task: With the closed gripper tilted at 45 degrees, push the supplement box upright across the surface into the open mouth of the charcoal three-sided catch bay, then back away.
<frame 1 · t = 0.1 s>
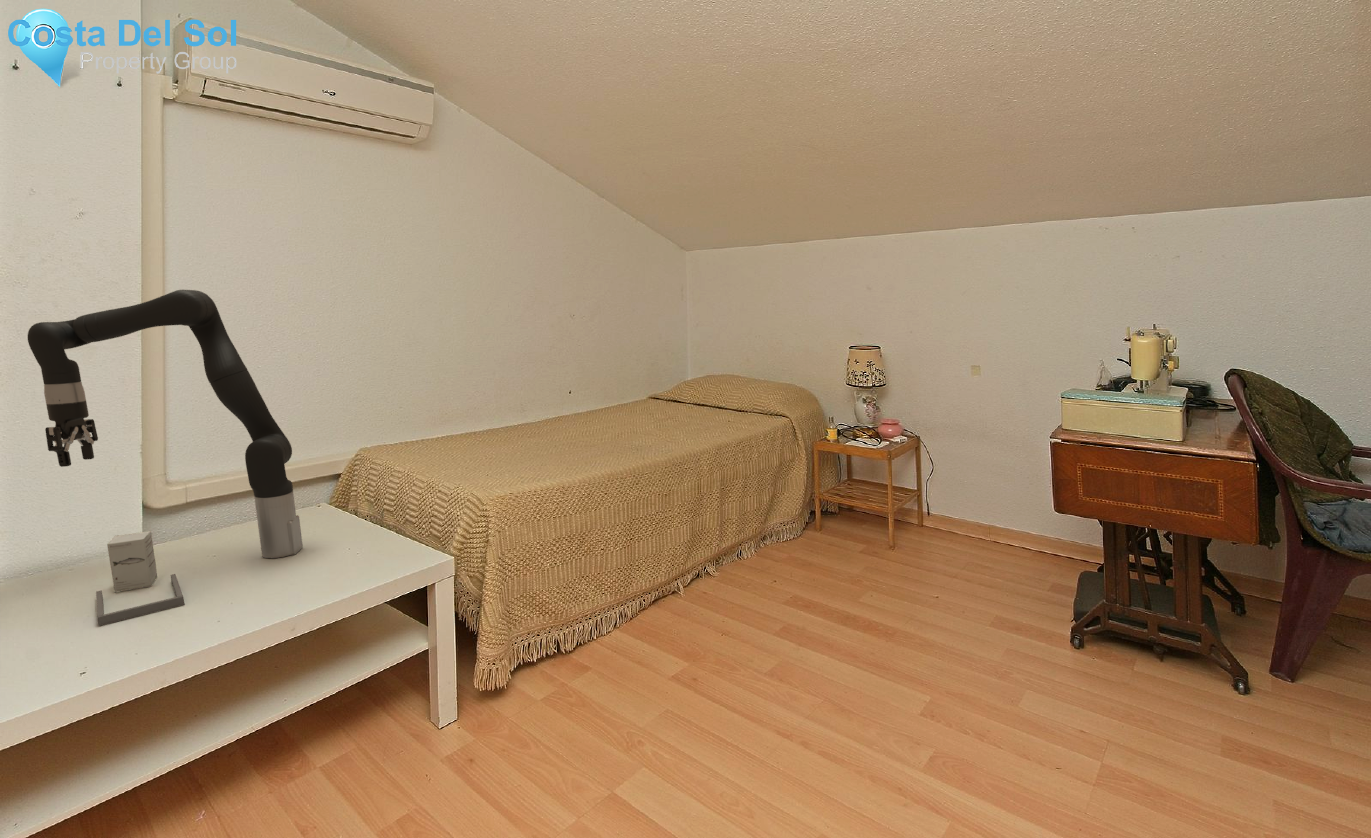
hand: (77, 462, 170), 29 cm above the table, tool pointing down, fingers open, 8 cm apart
catch bay: (140, 602, 154), on the table
supplement box: (137, 585, 164), on the table
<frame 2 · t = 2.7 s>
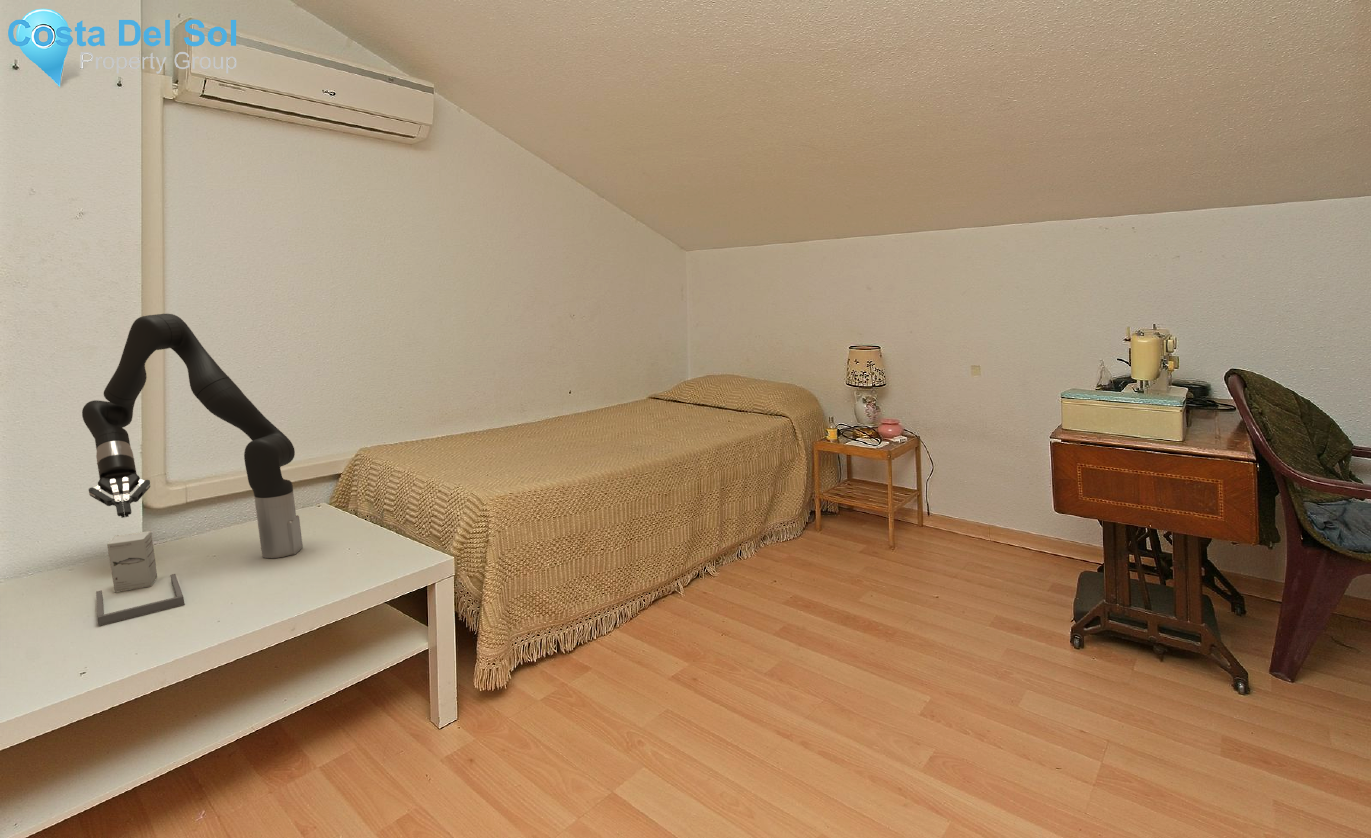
hand: (125, 515, 169), 15 cm above the table, tool tilted 45°, fingers closed
nothing on the table moved.
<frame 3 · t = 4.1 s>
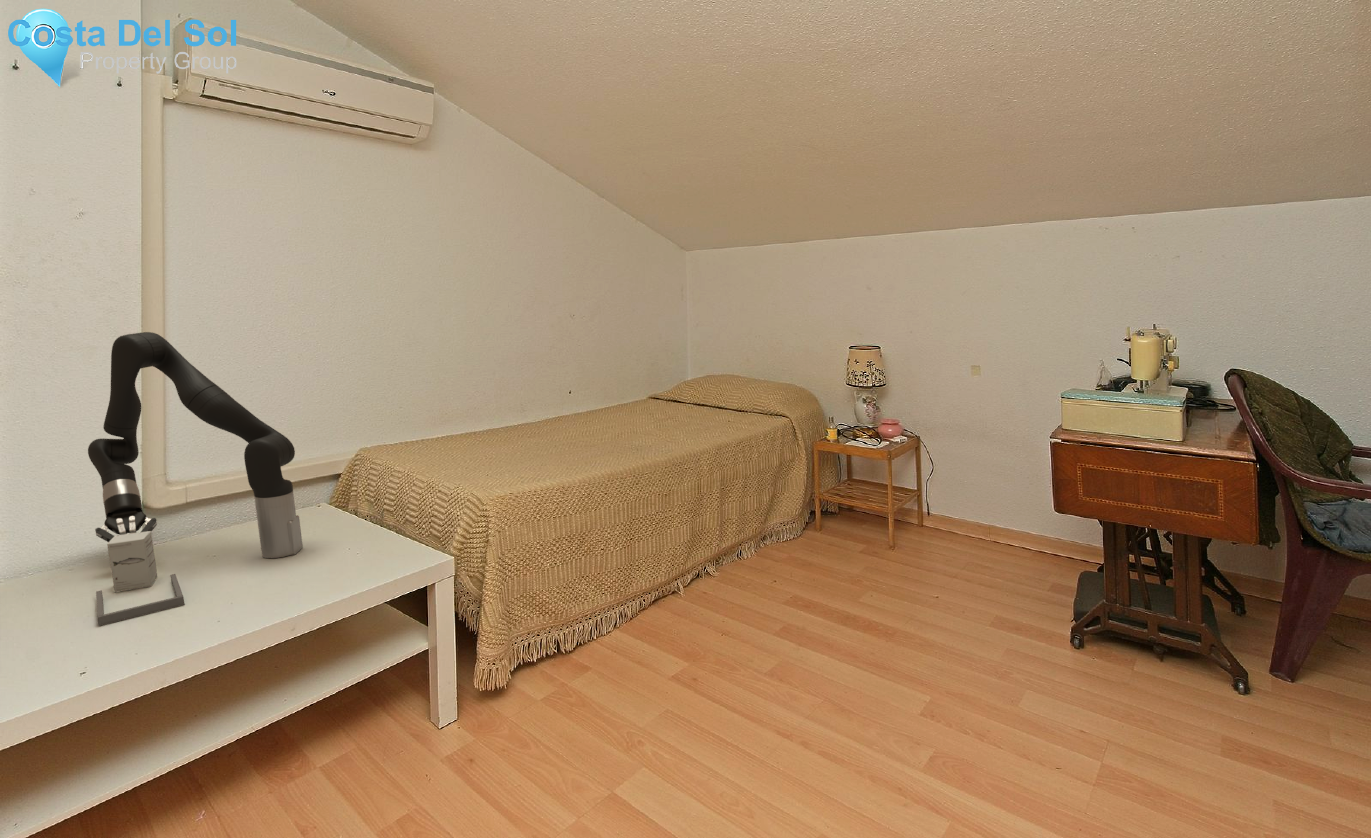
hand: (131, 555, 169), 5 cm above the table, tool tilted 45°, fingers closed
nothing on the table moved.
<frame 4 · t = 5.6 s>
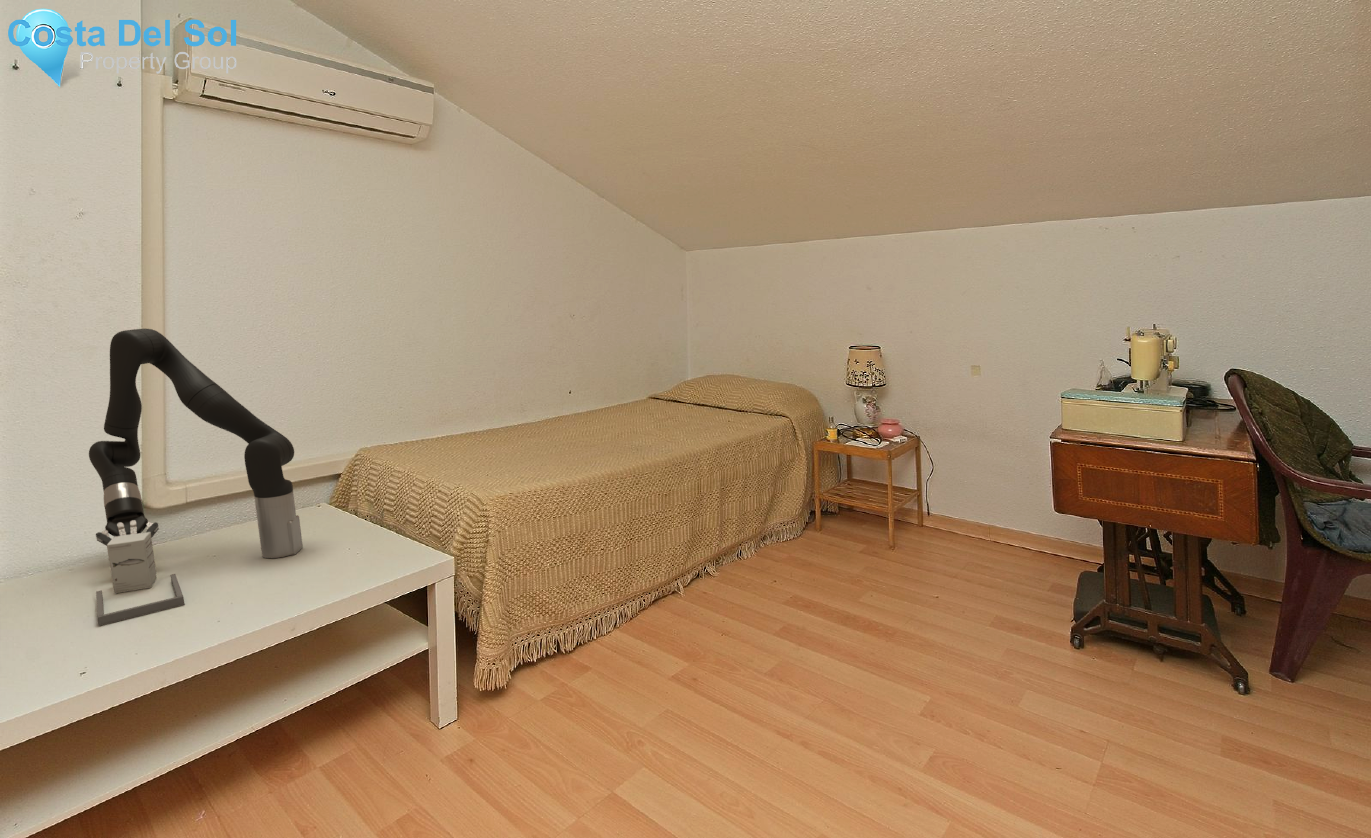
hand: (132, 561, 166), 5 cm above the table, tool tilted 45°, fingers closed
supplement box: (136, 586, 163), on the table
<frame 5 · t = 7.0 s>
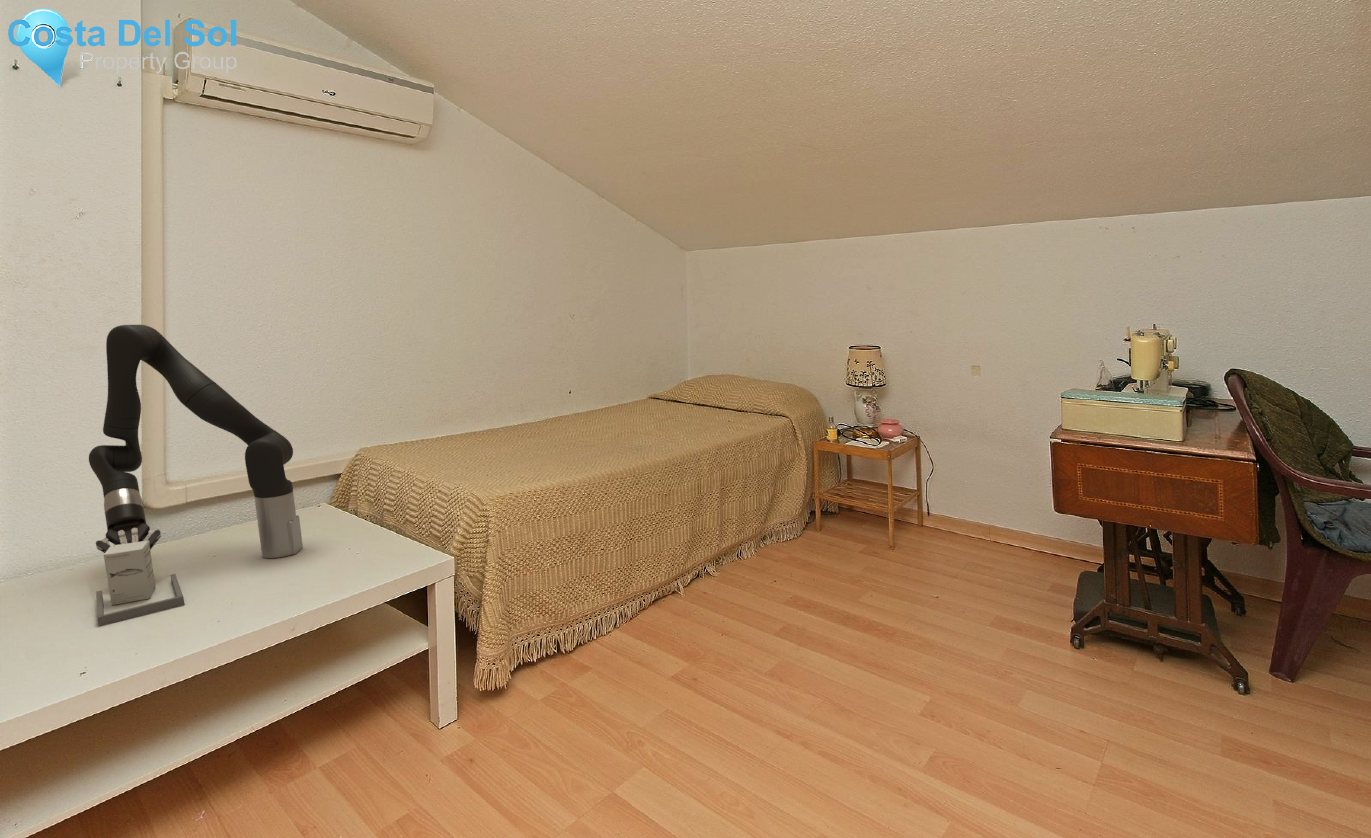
hand: (134, 570, 160), 5 cm above the table, tool tilted 45°, fingers closed
supplement box: (134, 597, 157), on the table, touching gripper
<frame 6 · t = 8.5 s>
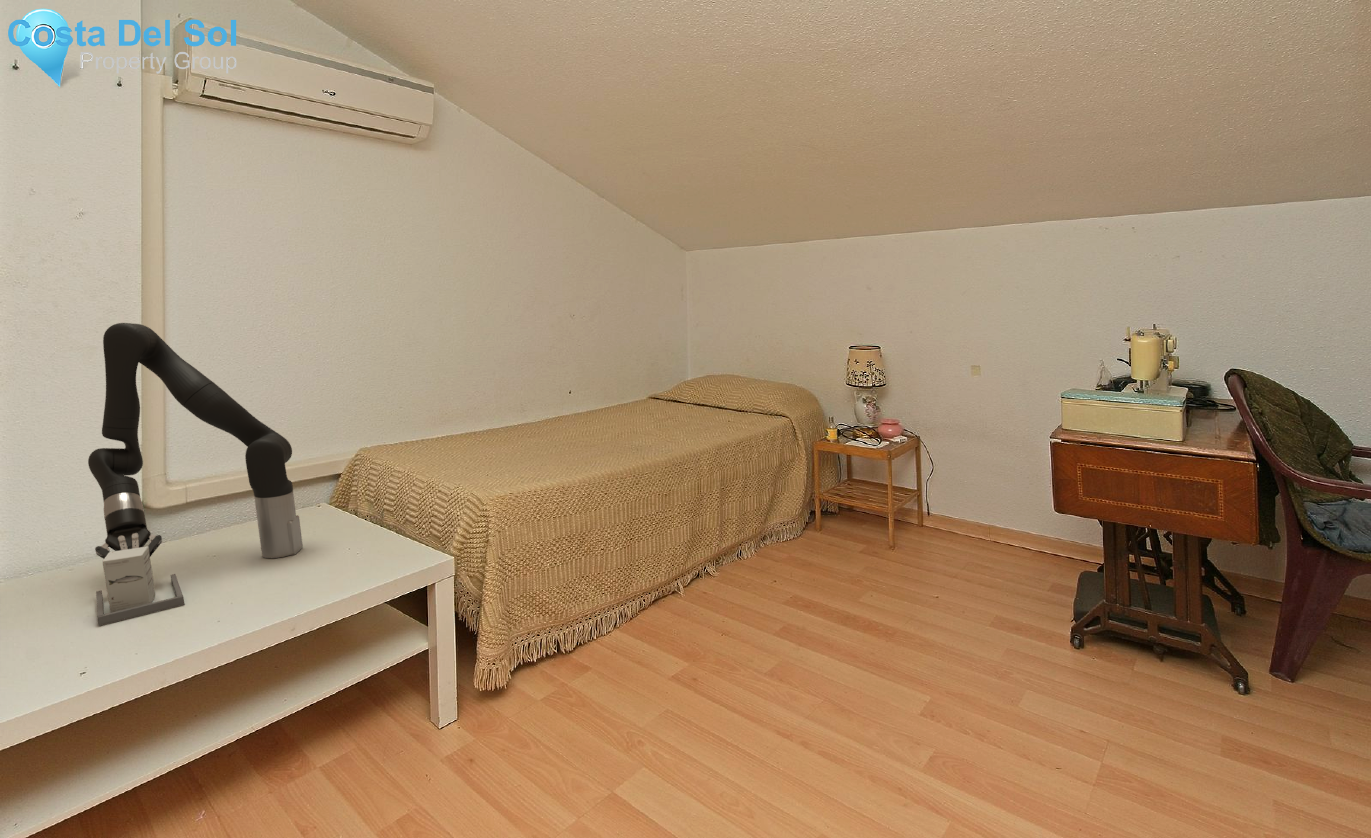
hand: (134, 576, 156), 5 cm above the table, tool tilted 45°, fingers closed
supplement box: (134, 605, 153), on the table, touching gripper
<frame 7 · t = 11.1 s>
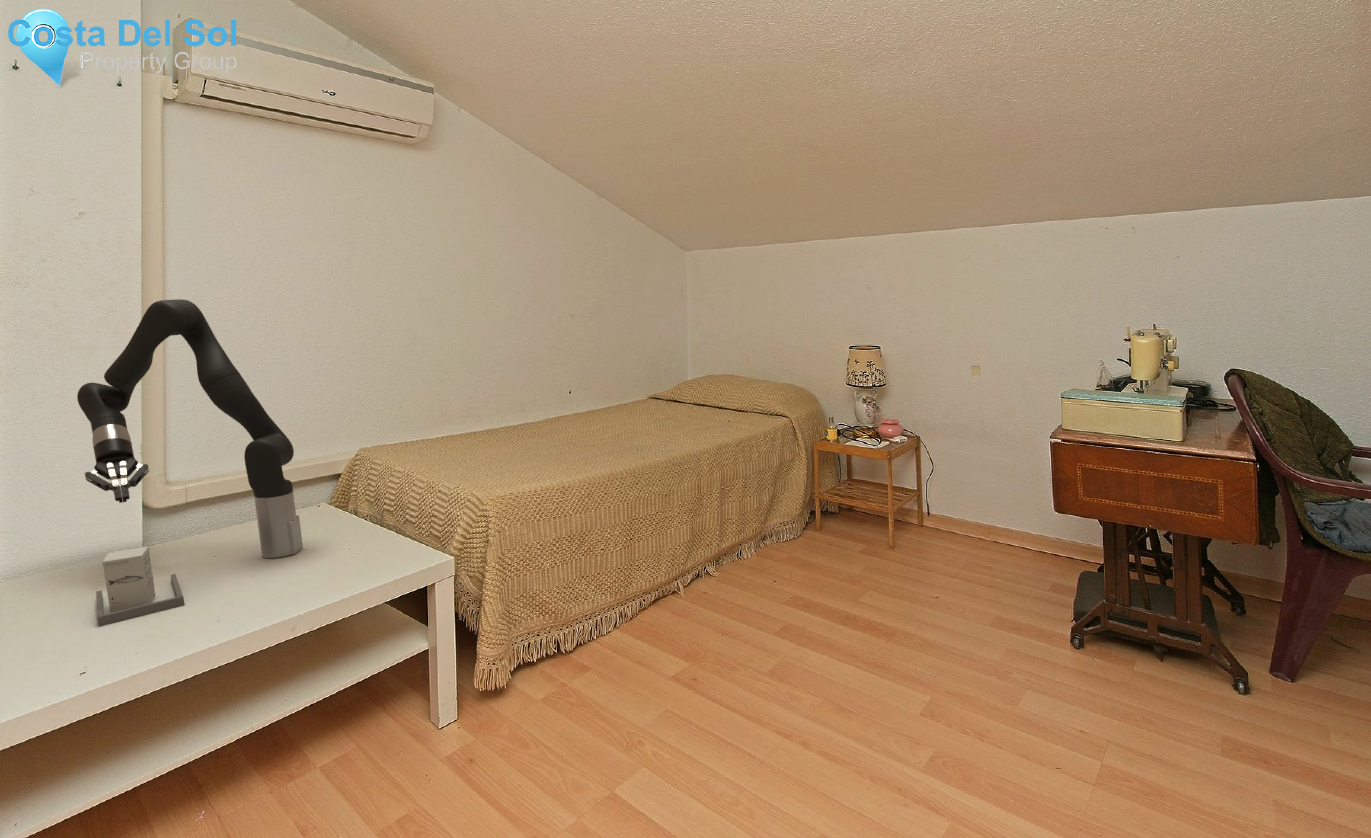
hand: (122, 500, 164), 21 cm above the table, tool tilted 45°, fingers closed
supplement box: (134, 605, 153), on the table
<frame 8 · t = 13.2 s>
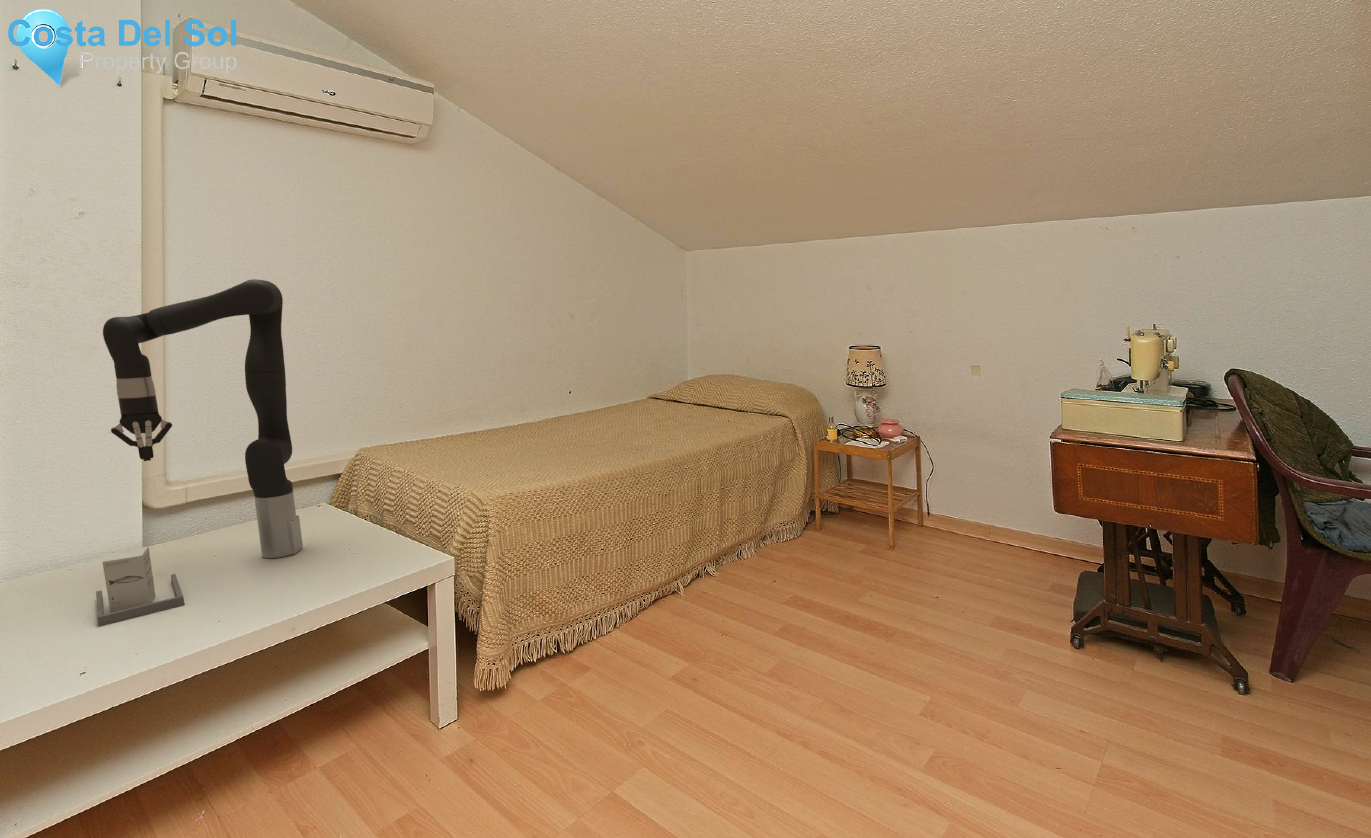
hand: (147, 460, 172), 29 cm above the table, tool pointing down, fingers closed
nothing on the table moved.
at the end: supplement box 1.3 cm from the catch bay (horizontally); supplement box tilted 0°; supplement box moved 14.4 cm from its start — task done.
